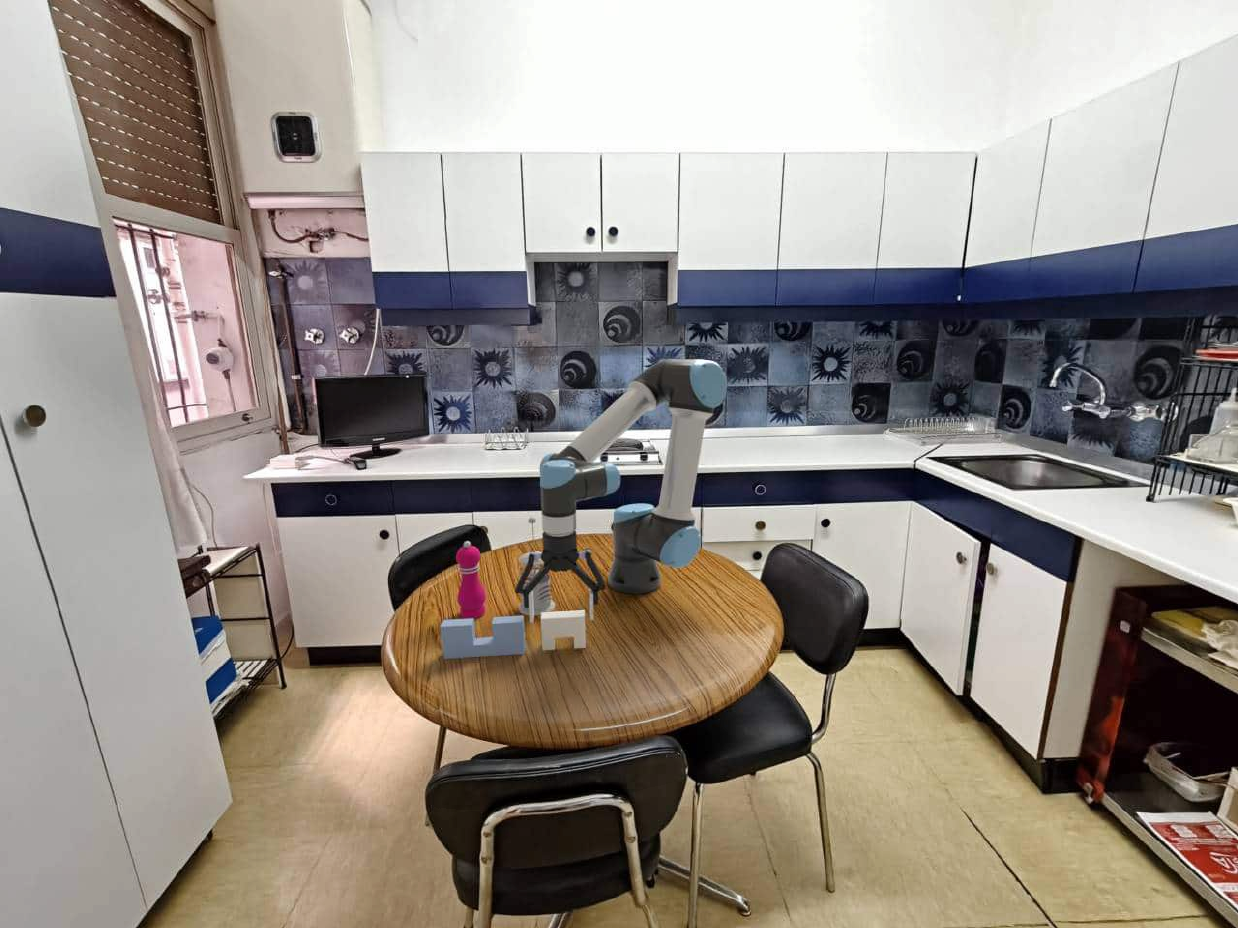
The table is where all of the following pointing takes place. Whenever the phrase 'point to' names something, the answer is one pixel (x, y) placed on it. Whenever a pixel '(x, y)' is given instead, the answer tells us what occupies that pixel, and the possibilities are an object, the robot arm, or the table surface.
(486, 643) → the blue batten
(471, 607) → the pepper mill
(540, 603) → the french press
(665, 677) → the table surface
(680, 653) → the table surface
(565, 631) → the white notched block
